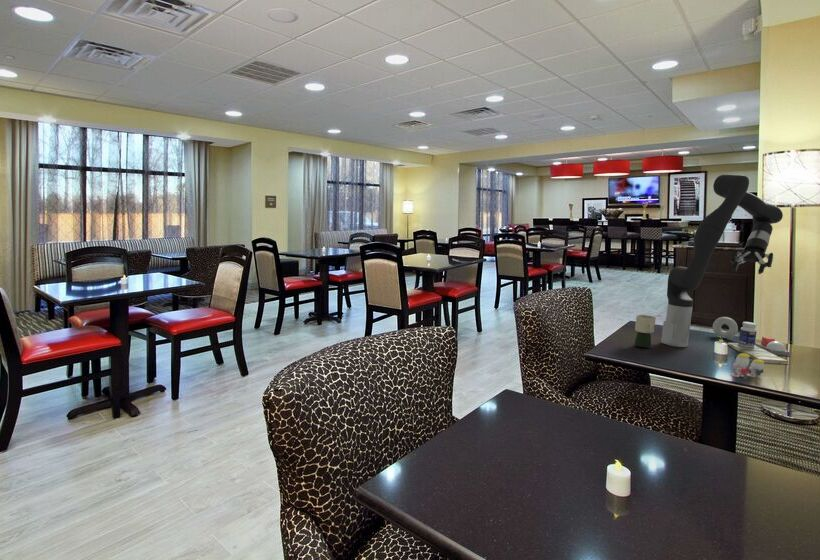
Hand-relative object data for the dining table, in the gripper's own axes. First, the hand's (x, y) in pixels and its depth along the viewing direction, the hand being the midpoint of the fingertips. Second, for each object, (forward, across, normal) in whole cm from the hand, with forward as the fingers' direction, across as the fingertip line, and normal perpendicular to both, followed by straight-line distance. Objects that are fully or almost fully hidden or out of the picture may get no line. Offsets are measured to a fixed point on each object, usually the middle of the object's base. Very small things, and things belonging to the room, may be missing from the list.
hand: (747, 271), depth 200 cm
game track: (+27, +8, +19) cm, 34 cm away
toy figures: (+53, +12, -6) cm, 55 cm away
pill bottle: (+22, +4, +23) cm, 32 cm away
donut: (+14, -7, +32) cm, 36 cm away
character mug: (+48, -26, -1) cm, 54 cm away
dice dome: (+20, +11, +29) cm, 37 cm away
